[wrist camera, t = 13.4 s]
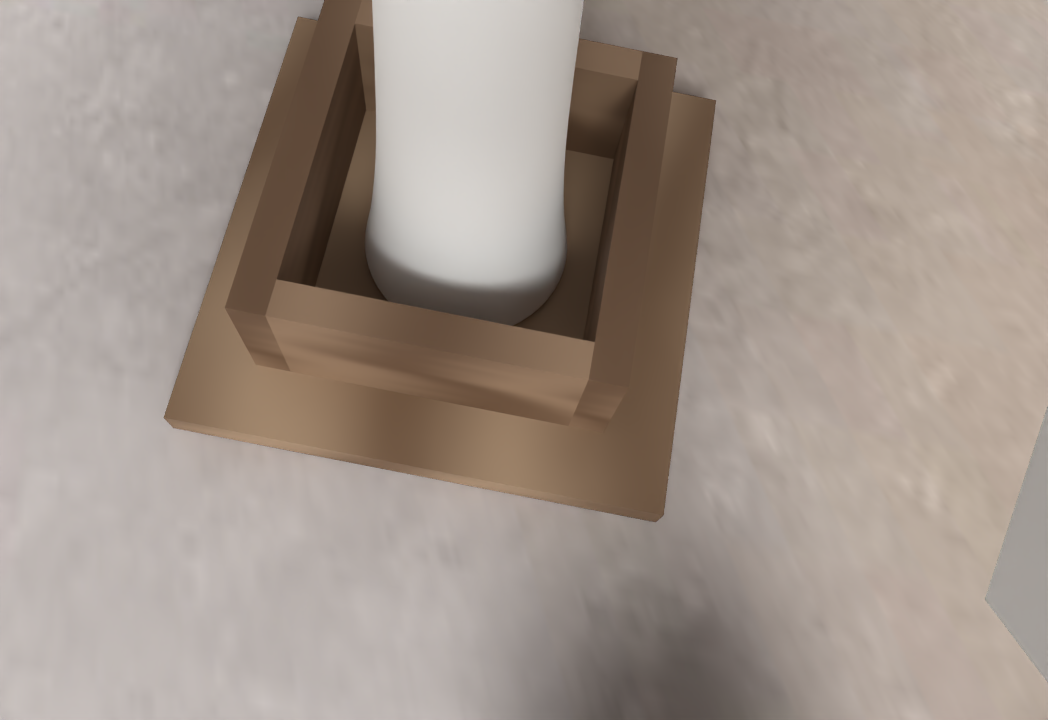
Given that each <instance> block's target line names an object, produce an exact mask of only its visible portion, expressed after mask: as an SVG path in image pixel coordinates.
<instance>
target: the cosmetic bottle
mask: <svg viewBox="0 0 1048 720" xmlns="http://www.w3.org/2000/svg"><path fill="white" fill-rule="evenodd" d="M583 4H584V0H372V12H373V36H374V62H375V94H376V158H375V174H374V185H373V194H372V202H371V208H370V212H369V217H368V221H367V226H366V232H365V252H366V258H367V263H368V267H369V269H370V272H371V275H372V277H373V279H374V281H375V283H376V285H377V287H378V288H379V290H380V291H381V292H382V294H383V295H384V297H385V298H386V299H387V300H388V301H389V302H394V303H399V304H404V305H409V306H414V307H419V308H424V309H429V310H435V311H440V312H445V313H450V314H455V315H460V316H465V317H470V318H475V319H480V320H485V321H490V322H495V323H500V324H505V325H511V326H513V325H515V324H517V323H519V322H521V321H523V320H524V319H526V318H527V317H529V316H530V315H532V314H533V313H534V312H535V311H536V310H538V309H539V308H540V307H541V306H542V305H543V304H544V303H545V302H546V301H547V299H548V298H549V297H550V295H551V294H552V293H553V291H554V290H555V288H556V286H557V284H558V282H559V281H560V278H561V275H562V273H563V270H564V266H565V262H566V255H567V235H566V227H565V218H564V166H565V151H566V139H567V129H568V119H569V111H570V103H571V95H572V87H573V79H574V71H575V63H576V56H577V48H578V41H579V34H580V26H581V19H582V12H583Z"/></svg>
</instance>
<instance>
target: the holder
mask: <svg viewBox="0 0 1048 720" xmlns="http://www.w3.org/2000/svg"><path fill="white" fill-rule="evenodd" d="M676 65H677V58H674V57H669V56H664V55H659V54H654V53H649V52H644V51H639V50H634V49H629V48H624V47H619V46H614V45H609V44H604V43H599V42H594V41H589V40H584V39H579V41H578V48H577V56H576V63H575V71H574V79H573V87H572V95H571V103H570V111H569V119H568V129H567V139H566V151H565V166H564V218H565V227H566V235H567V255H566V262H565V266H564V270H563V273H562V275H561V278H560V281H559V282H558V284H557V286H556V288H555V290H554V291H553V293H552V294H551V295H550V297H549V298H548V299H547V301H546V302H545V303H544V304H543V305H542V306H541V307H540V308H539V309H538V310H536V311H535V312H534V313H533V314H532V315H530V316H529V317H527V318H526V319H524V320H523V321H521V322H519V323H517V324H515V325H513V326H511V325H505V324H500V323H495V322H490V321H485V320H480V319H475V318H470V317H465V316H460V315H455V314H450V313H445V312H440V311H435V310H429V309H424V308H419V307H414V306H409V305H404V304H399V303H394V302H389V301H388V300H387V299H386V298H385V297H384V295H383V294H382V292H381V291H380V290H379V288H378V287H377V285H376V283H375V281H374V279H373V277H372V275H371V272H370V269H369V267H368V263H367V258H366V252H365V232H366V226H367V221H368V217H369V212H370V208H371V202H372V194H373V185H374V174H375V158H376V94H375V62H374V36H373V12H372V0H324V3H323V6H322V10H321V13H320V16H319V19H318V21H317V20H312V19H307V18H302V17H298V18H297V21H296V24H295V27H294V30H293V33H292V36H291V39H290V42H289V45H288V48H287V51H286V54H285V57H284V60H283V63H282V66H281V69H280V72H279V75H278V78H277V81H276V84H275V87H274V90H273V93H272V96H271V99H270V102H269V105H268V108H267V111H266V114H265V117H264V120H263V123H262V126H261V129H260V131H259V134H258V137H257V140H256V143H255V146H254V149H253V152H252V155H251V158H250V161H249V164H248V167H247V170H246V173H245V176H244V179H243V182H242V185H241V188H240V191H239V194H238V197H237V200H236V203H235V206H234V209H233V212H232V215H231V218H230V221H229V224H228V227H227V230H226V233H225V236H224V239H223V242H222V245H221V248H220V251H219V254H218V257H217V260H216V263H215V266H214V269H213V272H212V275H211V278H210V281H209V284H208V287H207V290H206V293H205V296H204V299H203V302H202V305H201V308H200V311H199V314H198V317H197V320H196V323H195V326H194V329H193V331H192V334H191V337H190V340H189V343H188V346H187V349H186V352H185V355H184V358H183V361H182V364H181V367H180V370H179V373H178V376H177V379H176V382H175V385H174V388H173V391H172V394H171V397H170V400H169V403H168V406H167V409H166V412H165V415H164V418H165V419H166V421H167V422H168V423H169V424H170V425H171V426H172V427H173V428H177V429H182V430H187V431H192V432H197V433H203V434H208V435H213V436H218V437H223V438H228V439H233V440H238V441H243V442H249V443H254V444H259V445H264V446H269V447H274V448H279V449H284V450H289V451H295V452H300V453H305V454H310V455H315V456H320V457H325V458H330V459H335V460H341V461H346V462H351V463H356V464H361V465H366V466H371V467H376V468H382V469H387V470H392V471H397V472H402V473H407V474H412V475H417V476H422V477H428V478H433V479H438V480H443V481H448V482H453V483H458V484H463V485H468V486H474V487H479V488H484V489H489V490H494V491H499V492H504V493H509V494H515V495H520V496H525V497H530V498H535V499H540V500H545V501H550V502H555V503H561V504H566V505H571V506H576V507H581V508H586V509H591V510H596V511H601V512H607V513H612V514H617V515H622V516H627V517H632V518H637V519H642V520H648V521H653V522H657V521H658V520H659V519H660V518H661V517H662V516H663V515H664V507H665V499H666V491H667V483H668V476H669V468H670V460H671V452H672V444H673V436H674V428H675V420H676V412H677V404H678V397H679V389H680V381H681V373H682V365H683V357H684V349H685V341H686V333H687V326H688V318H689V310H690V302H691V294H692V286H693V278H694V270H695V262H696V254H697V247H698V239H699V231H700V223H701V215H702V207H703V199H704V191H705V183H706V175H707V168H708V160H709V152H710V144H711V136H712V128H713V120H714V112H715V104H716V100H711V99H706V98H701V97H696V96H691V95H686V94H681V93H676V92H673V85H674V79H675V72H676Z"/></svg>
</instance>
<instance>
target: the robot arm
mask: <svg viewBox="0 0 1048 720" xmlns="http://www.w3.org/2000/svg"><path fill="white" fill-rule="evenodd" d="M985 600H986V601H987V603H988V604H989V605H990V607H991V608H992V609H993V611H994V612H995V613H996V615H997V616H998V617H999V619H1000V620H1001V621H1002V623H1003V624H1004V625H1005V627H1006V628H1007V629H1008V631H1009V632H1010V633H1011V635H1012V636H1013V637H1014V639H1015V640H1016V641H1017V642H1018V644H1019V645H1020V646H1021V648H1022V649H1023V650H1024V652H1025V653H1026V654H1027V656H1028V657H1029V658H1030V660H1031V661H1032V662H1033V664H1034V665H1035V666H1036V668H1037V669H1038V670H1039V672H1040V673H1041V674H1042V676H1043V677H1044V678H1045V680H1046V681H1047V682H1048V407H1047V410H1046V413H1045V416H1044V419H1043V422H1042V425H1041V428H1040V432H1039V435H1038V438H1037V441H1036V444H1035V447H1034V450H1033V453H1032V456H1031V459H1030V462H1029V465H1028V468H1027V471H1026V475H1025V478H1024V481H1023V484H1022V487H1021V490H1020V493H1019V496H1018V499H1017V502H1016V505H1015V508H1014V511H1013V514H1012V517H1011V521H1010V524H1009V527H1008V530H1007V533H1006V536H1005V539H1004V542H1003V545H1002V548H1001V551H1000V554H999V557H998V560H997V564H996V567H995V570H994V573H993V576H992V579H991V582H990V585H989V588H988V591H987V594H986V597H985Z"/></svg>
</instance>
